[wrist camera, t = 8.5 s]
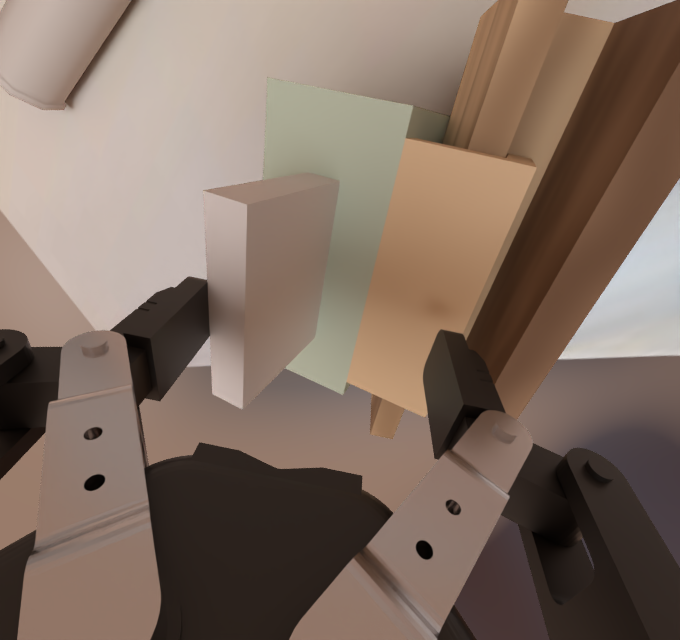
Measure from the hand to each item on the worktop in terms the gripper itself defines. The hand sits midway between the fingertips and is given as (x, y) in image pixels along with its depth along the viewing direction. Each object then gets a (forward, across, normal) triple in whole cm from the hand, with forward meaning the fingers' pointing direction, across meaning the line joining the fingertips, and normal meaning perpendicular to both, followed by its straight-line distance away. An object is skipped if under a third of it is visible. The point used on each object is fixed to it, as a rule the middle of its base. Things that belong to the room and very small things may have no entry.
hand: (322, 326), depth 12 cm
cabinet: (+14, -4, 0) cm, 14 cm away
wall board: (+23, -10, 0) cm, 25 cm away
